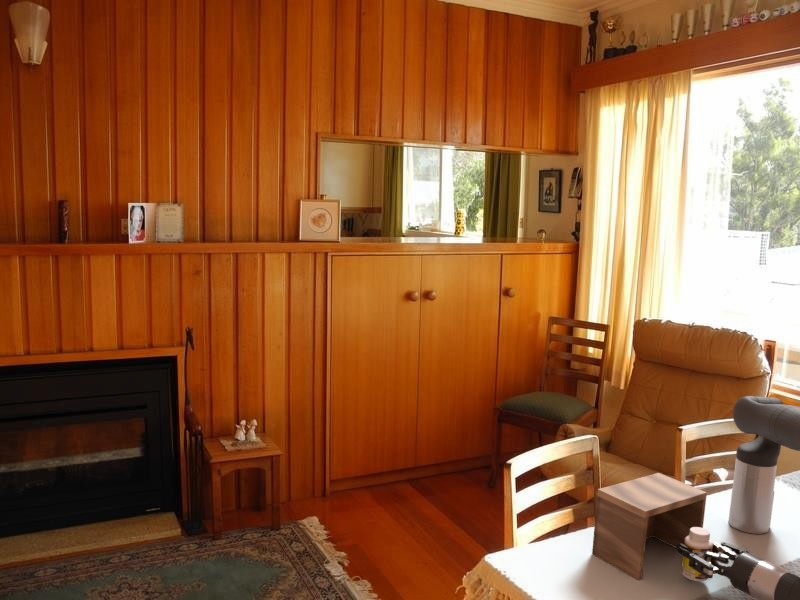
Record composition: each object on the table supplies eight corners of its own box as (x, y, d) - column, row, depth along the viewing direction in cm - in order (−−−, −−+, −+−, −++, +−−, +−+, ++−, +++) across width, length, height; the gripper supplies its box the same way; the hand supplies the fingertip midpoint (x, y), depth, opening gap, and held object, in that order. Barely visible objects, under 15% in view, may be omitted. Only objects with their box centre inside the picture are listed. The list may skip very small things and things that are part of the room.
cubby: (652, 533, 183) (658, 472, 181) (699, 557, 173) (706, 492, 170) (592, 554, 172) (597, 489, 169) (638, 580, 161) (645, 511, 159)
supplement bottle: (698, 585, 158) (703, 538, 156) (675, 573, 162) (680, 528, 161) (714, 578, 161) (719, 533, 159) (692, 567, 165) (696, 522, 164)
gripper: (784, 553, 152) (709, 520, 166) (742, 570, 144) (667, 535, 158) (780, 588, 153) (706, 553, 167) (738, 607, 145) (664, 569, 159)
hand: (687, 544), depth 163 cm, fingers closed on supplement bottle, 5 cm apart
